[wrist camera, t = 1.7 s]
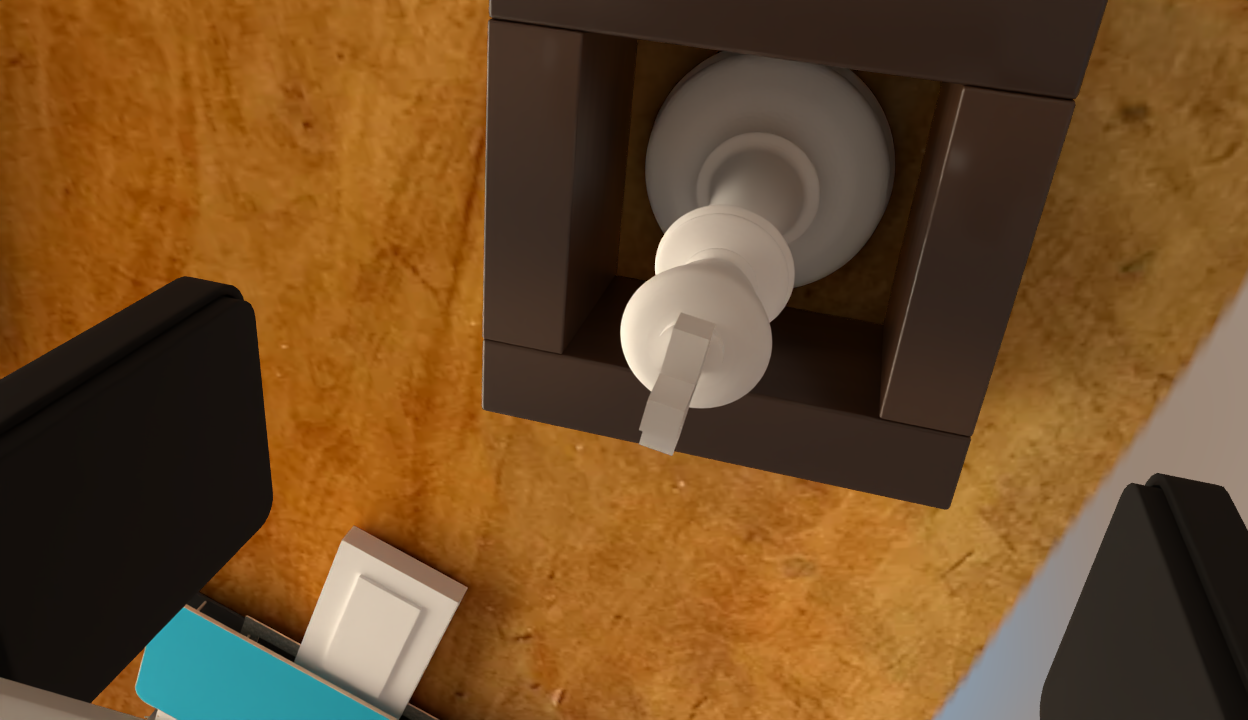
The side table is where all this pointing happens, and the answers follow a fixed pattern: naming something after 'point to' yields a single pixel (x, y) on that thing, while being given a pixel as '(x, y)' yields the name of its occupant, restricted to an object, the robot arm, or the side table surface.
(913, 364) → the frame
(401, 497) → the side table surface
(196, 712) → the phone stand
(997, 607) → the side table surface
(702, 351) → the chess piece
